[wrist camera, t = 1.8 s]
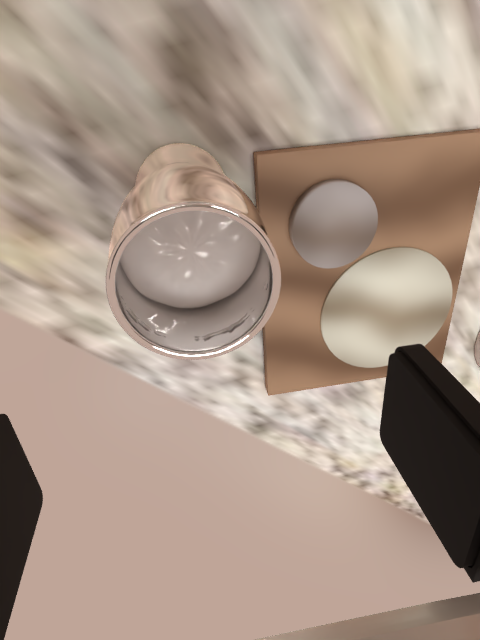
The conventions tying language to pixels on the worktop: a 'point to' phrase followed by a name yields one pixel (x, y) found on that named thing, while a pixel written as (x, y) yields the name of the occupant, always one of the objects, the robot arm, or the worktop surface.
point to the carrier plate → (363, 252)
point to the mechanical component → (477, 350)
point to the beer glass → (190, 258)
